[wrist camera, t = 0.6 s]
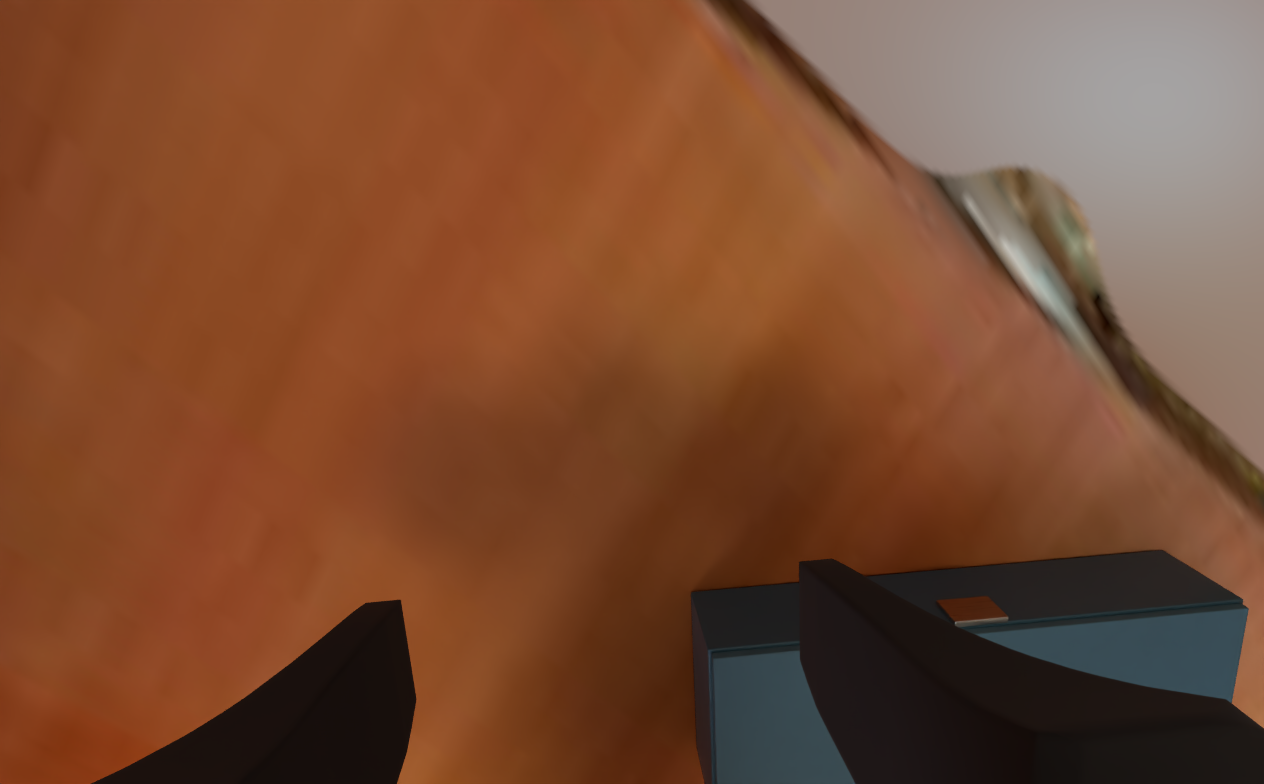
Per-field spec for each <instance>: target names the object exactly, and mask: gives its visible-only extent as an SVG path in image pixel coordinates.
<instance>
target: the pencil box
mask: <svg viewBox="0 0 1264 784" xmlns="http://www.w3.org/2000/svg"><path fill="white" fill-rule="evenodd" d="M867 578H868V579H870V580H872V581H873V582H875V583H877V584H878V585H880V586H882V587H884V588H885V589H887V590H889V591H891V592H892V593H894V594H896V595H898V596H899V597H901V598H903V599H905V600H906V601H908V602H910V603H912V604H914V605H916V606H917V607H919V608H921V609H923V610H925V611H927V612H929V613H931V614H933V615H935V616H937V617H939V618H941V619H943V620H945V621H947V622H949V623H951V624H953V625H955V626H957V627H959V628H961V629H964V630H966V631H968V632H970V633H973V634H975V635H977V636H980V637H982V638H985V639H987V640H990V641H992V642H995V643H997V644H1000V645H1002V646H1005V647H1007V648H1010V649H1013V650H1015V651H1018V652H1021V653H1024V654H1027V655H1030V656H1033V657H1036V658H1039V659H1042V660H1045V661H1049V662H1052V663H1055V664H1058V665H1062V666H1065V667H1068V668H1071V669H1075V670H1079V671H1083V672H1086V673H1090V674H1094V675H1098V676H1102V677H1106V678H1111V679H1115V680H1120V681H1124V682H1129V683H1133V684H1137V685H1142V686H1147V687H1152V688H1158V689H1165V690H1171V691H1177V692H1184V693H1190V694H1196V695H1203V696H1209V697H1215V698H1222V699H1226V700H1228V701H1229V702H1230V703H1232V698H1233V693H1234V687H1235V681H1236V676H1237V670H1238V665H1239V659H1240V654H1241V648H1242V643H1243V637H1244V632H1245V626H1246V621H1247V615H1248V608H1247V607H1246V606H1244V605H1243V599H1242V598H1240V597H1238V596H1237V595H1235V594H1233V593H1232V592H1230V591H1229V590H1227V589H1225V588H1224V587H1222V586H1220V585H1219V584H1217V583H1216V582H1214V581H1212V580H1211V579H1209V578H1207V577H1206V576H1204V575H1203V574H1201V573H1199V572H1198V571H1196V570H1194V569H1193V568H1191V567H1189V566H1188V565H1186V564H1185V563H1183V562H1181V561H1180V560H1178V559H1176V558H1175V557H1173V556H1172V555H1170V554H1168V553H1167V552H1165V551H1163V550H1159V551H1148V552H1137V553H1126V554H1115V555H1103V556H1092V557H1081V558H1070V559H1058V560H1047V561H1036V562H1025V563H1013V564H1002V565H991V566H980V567H969V568H957V569H946V570H935V571H924V572H912V573H901V574H890V575H879V576H867ZM691 610H692V636H693V663H694V689H695V716H696V742H697V751H698V755H699V760H700V764H701V769H702V773H703V778H704V782H705V784H855V782H854V780H853V778H852V776H851V774H850V772H849V771H848V769H847V767H846V765H845V763H844V761H843V759H842V757H841V755H840V753H839V751H838V749H837V747H836V745H835V743H834V742H833V740H832V738H831V736H830V734H829V732H828V730H827V728H826V726H825V724H824V722H823V720H822V718H821V716H820V714H819V712H818V710H817V708H816V705H815V702H814V699H813V697H812V694H811V691H810V689H809V686H808V683H807V680H806V677H805V674H804V671H803V668H802V665H801V662H800V617H799V583H789V584H778V585H766V586H755V587H744V588H733V589H721V590H710V591H699V592H691Z"/></svg>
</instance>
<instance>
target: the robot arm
mask: <svg viewBox="0 0 1264 784" xmlns="http://www.w3.org/2000/svg"><path fill="white" fill-rule="evenodd" d="M799 617H800V662H801V665H802V668H803V671H804V674H805V677H806V680H807V683H808V686H809V689H810V691H811V694H812V697H813V699H814V702H815V705H816V708H817V710H818V712H819V714H820V716H821V718H822V720H823V722H824V724H825V726H826V728H827V730H828V732H829V734H830V736H831V738H832V740H833V742H834V743H835V745H836V747H837V749H838V751H839V753H840V755H841V757H842V759H843V761H844V763H845V765H846V767H847V769H848V771H849V772H850V774H851V776H852V778H853V780H854V782H855V784H1264V728H1262V727H1261V726H1260V725H1258V724H1257V723H1256V722H1255V721H1253V720H1252V719H1251V718H1249V717H1248V716H1247V715H1246V714H1244V713H1243V712H1242V711H1240V710H1239V709H1238V708H1237V707H1235V706H1234V705H1233V704H1232V703H1230V702H1229V701H1228V700H1226V699H1222V698H1215V697H1209V696H1203V695H1196V694H1190V693H1184V692H1177V691H1171V690H1165V689H1158V688H1152V687H1147V686H1142V685H1137V684H1133V683H1129V682H1124V681H1120V680H1115V679H1111V678H1106V677H1102V676H1098V675H1094V674H1090V673H1086V672H1083V671H1079V670H1075V669H1071V668H1068V667H1065V666H1062V665H1058V664H1055V663H1052V662H1049V661H1045V660H1042V659H1039V658H1036V657H1033V656H1030V655H1027V654H1024V653H1021V652H1018V651H1015V650H1013V649H1010V648H1007V647H1005V646H1002V645H1000V644H997V643H995V642H992V641H990V640H987V639H985V638H982V637H980V636H977V635H975V634H973V633H970V632H968V631H966V630H964V629H961V628H959V627H957V626H955V625H953V624H951V623H949V622H947V621H945V620H943V619H941V618H939V617H937V616H935V615H933V614H931V613H929V612H927V611H925V610H923V609H921V608H919V607H917V606H916V605H914V604H912V603H910V602H908V601H906V600H905V599H903V598H901V597H899V596H898V595H896V594H894V593H892V592H891V591H889V590H887V589H885V588H884V587H882V586H880V585H878V584H877V583H875V582H873V581H872V580H870V579H868V578H867V577H865V576H863V575H861V574H860V573H858V572H856V571H855V570H853V569H851V568H849V567H848V566H846V565H844V564H842V563H840V562H838V561H836V560H834V559H823V560H813V561H802V562H799ZM415 704H416V694H415V687H414V681H413V675H412V668H411V662H410V656H409V649H408V643H407V637H406V631H405V624H404V618H403V612H402V605H401V600H392V601H381V602H371V603H365V604H364V605H362V606H361V607H359V608H358V609H357V610H355V611H354V612H353V613H352V614H350V615H349V616H348V617H347V618H345V619H344V620H343V621H342V622H340V623H339V624H338V625H337V626H336V627H334V628H333V629H332V630H331V631H330V632H328V633H327V634H326V635H325V636H324V637H322V638H321V639H320V640H319V641H318V642H316V643H315V644H314V645H313V646H311V647H310V648H309V649H308V650H307V651H305V652H304V653H303V654H302V655H301V656H299V657H298V658H297V659H296V660H294V661H293V662H292V663H291V664H289V665H288V666H287V667H285V668H284V669H283V670H281V671H280V672H279V673H277V674H276V675H275V676H273V677H272V678H271V679H269V680H268V681H267V682H265V683H264V684H263V685H261V686H260V687H259V688H257V689H256V690H255V691H253V692H252V693H251V694H249V695H248V696H246V697H245V698H244V699H242V700H241V701H239V702H238V703H236V704H235V705H233V706H232V707H230V708H229V709H227V710H226V711H224V712H223V713H221V714H220V715H218V716H216V717H215V718H213V719H212V720H210V721H208V722H207V723H205V724H204V725H202V726H200V727H199V728H197V729H195V730H194V731H192V732H190V733H189V734H187V735H185V736H184V737H182V738H180V739H178V740H176V741H174V742H172V743H171V744H169V745H167V746H165V747H163V748H161V749H159V750H157V751H156V752H154V753H152V754H150V755H148V756H146V757H144V758H143V759H141V760H139V761H137V762H135V763H133V764H131V765H129V766H128V767H125V768H123V769H121V770H119V771H117V772H115V773H113V774H111V775H109V776H107V777H104V778H102V779H100V780H98V781H96V782H94V783H92V784H397V781H398V778H399V775H400V772H401V769H402V766H403V763H404V759H405V756H406V753H407V748H408V743H409V738H410V733H411V728H412V722H413V716H414V710H415Z"/></svg>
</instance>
